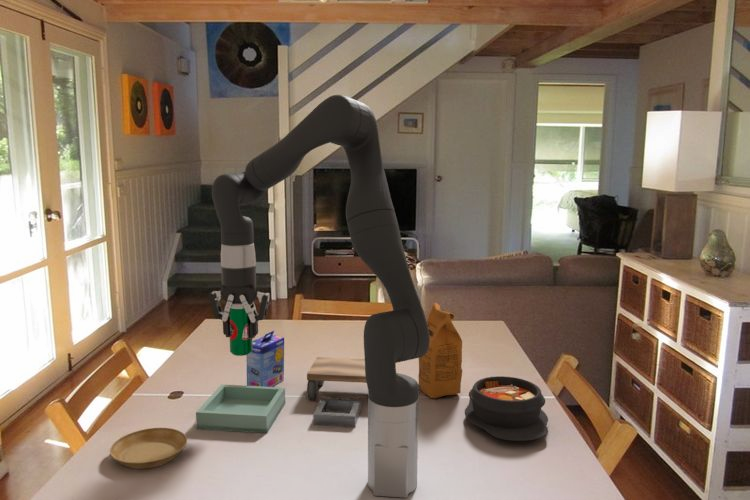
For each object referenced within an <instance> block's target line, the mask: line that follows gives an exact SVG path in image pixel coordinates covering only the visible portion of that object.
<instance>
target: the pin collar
mask: <svg viewBox="0 0 750 500" xmlns="http://www.w3.org/2000/svg"><path fill="white" fill-rule="evenodd" d="M361 403H362V399H358V398H357V399H356V398H341V397H339V398H337V397H334V398H333V397H321V398H320V401H319V402H318V404H317V407H316V409H315V411H314V413H313V425H314V426H331V427H345V428H356V425H357V422H358V419H359V416H360V414H361V411H362V409H361V408H362V405H361ZM327 411H334V412H327ZM335 411H338V412H335ZM342 412H344V413H342ZM345 412H349V413H345Z"/></svg>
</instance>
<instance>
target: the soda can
mask: <svg viewBox="0 0 750 500" xmlns="http://www.w3.org/2000/svg"><path fill="white" fill-rule="evenodd" d="M250 307H251V305H250ZM250 322H251V321H250V318H249V316H248V314H247V313H246V311H245V308H244V306H243V304H242V303H233V304H232V306H231V307H230V311H229V335H230V337H229V352H230V353H231V354H232V355H234V356H237V357H241V356H244V357H245V356H247V355H248V354H250V353H251V352H252V350H253V343H252V341H253V338H250Z"/></svg>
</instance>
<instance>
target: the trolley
mask: <svg viewBox="0 0 750 500" xmlns="http://www.w3.org/2000/svg"><path fill="white" fill-rule="evenodd" d="M306 380H307V385H306V397H307V399H308V400H314V401H316V399H317V396H318V390H319V386H323V385H324V383H325V382H337V383H338V382H341V383H342V382H343V383H363V384H367V382H366V376H365V358H349V357H347V358H346V357H345V358H344V357H343V358H342V357H327V356H326V357H325V356H323V357H321V356H317V357H316V358H315V360H314V362H313V363H312V365H310V368H309V370H308V372H307V373H306Z"/></svg>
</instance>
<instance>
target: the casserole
mask: <svg viewBox="0 0 750 500" xmlns="http://www.w3.org/2000/svg"><path fill="white" fill-rule="evenodd" d="M468 397H469V399H468V400H469V401H468V404H467V406H466V408H465V409H464V415H465V418H466V419H467V420H468V421H469V422H470V423H472V424H473V425H475V426H476V427H478V428H480V429H483V430H484V431H486V432H487V433H488V434H490V435H491V436H493V437H494V438H496V439H497V440H502V441H504V440H505V441H509V442H510V441H511V442H527V441H535V440H540V439H542V438H544V437H546V436H547V434H548V433H547V431H548V430H547V425H548V422H549V418H548V416H547V415H548V414H547V413H546V412H545V411H544V410H543V409H542V408H543V407H544V406H545V405H546V404H545V403H546V398H545V397H544V395H543V394H542V390H541V388H540V387H539V386H538V385H537V384H535V383H533V382H531V381H529V380H526V379H522V378H520V377H513V376H512V377H511V376H497V375H496V376H490V377H489V376H488V377H484V378H481V379H478V380H476V381H475V382H474V384H473V386H472V388H471V389H470V391H469V392H468Z"/></svg>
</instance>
